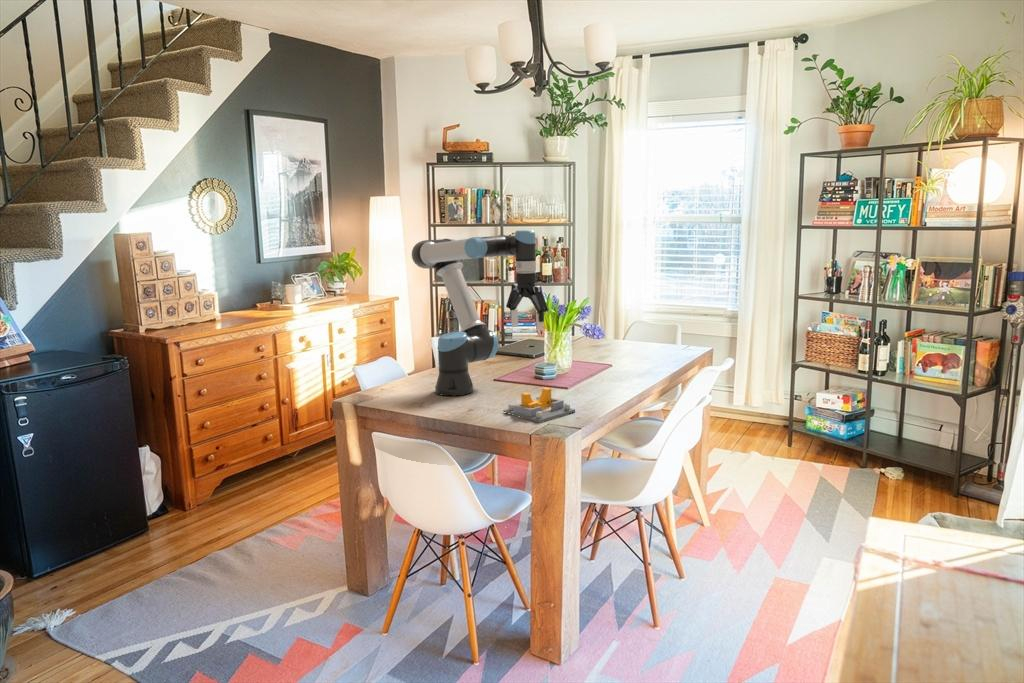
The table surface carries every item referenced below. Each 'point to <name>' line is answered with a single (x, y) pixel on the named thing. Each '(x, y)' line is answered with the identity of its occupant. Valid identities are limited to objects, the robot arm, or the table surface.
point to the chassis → (541, 411)
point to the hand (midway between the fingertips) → (527, 328)
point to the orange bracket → (542, 401)
